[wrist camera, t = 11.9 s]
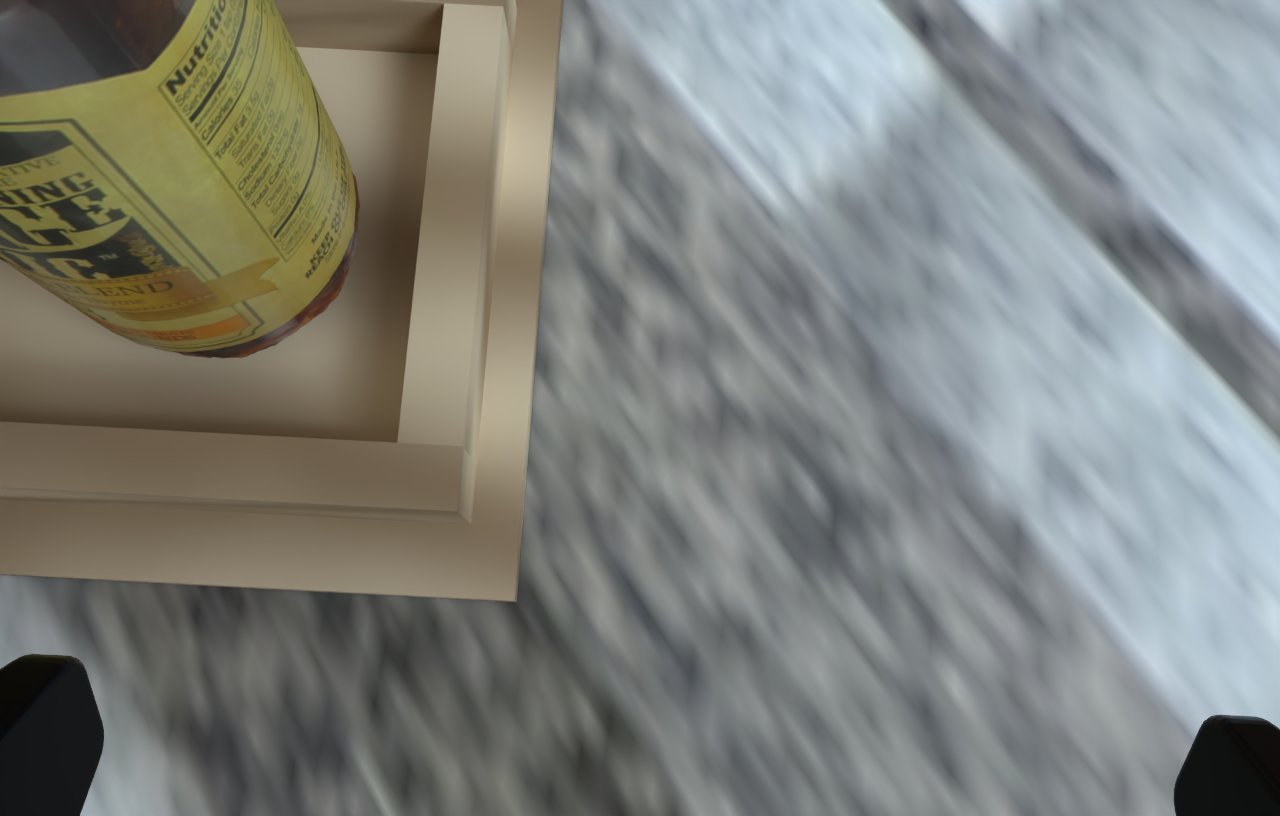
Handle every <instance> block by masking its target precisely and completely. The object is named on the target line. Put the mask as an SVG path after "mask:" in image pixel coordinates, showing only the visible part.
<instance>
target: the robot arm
mask: <svg viewBox="0 0 1280 816" xmlns="http://www.w3.org/2000/svg"><path fill="white" fill-rule="evenodd" d="M103 743H104V729H103V723H102V720H101V717H100V714H99V711H98V707H97V704H96V701H95V698H94V695H93V691H92V688H91V685H90V682H89V679H88V675H87V672H86V670H85V667H84V665H83V664H82V663H81V662H80V661H79V660H78V659H77V658H75V657H72V656H60V655H40V654H30V655H25V656H22V657H19V658H18V659H16V660H14V661H12V662H11V663H9V664H8V665H6V666H4V667H3V668H1V669H0V816H80V813H81V811H82V808H83V805H84V802H85V800H86V797H87V794H88V791H89V788H90V786H91V783H92V780H93V777H94V774H95V772H96V769H97V766H98V763H99V761H100V757H101V754H102V749H103ZM1174 806H1175V812H1176V816H1280V729H1279V728H1278V727H1276V726H1275V725H1273V724H1272V723H1270V722H1269V721H1267V720H1265V719H1262V718H1259V717H1251V716H1231V715H1214V716H1211V717H1209V718H1208V719H1207V720H1205V721H1204V722H1203V724H1202V725H1201V727H1200V729H1199V731H1198V734H1197V736H1196V738H1195V740H1194V742H1193V744H1192V747H1191V749H1190V751H1189V753H1188V755H1187V758H1186V760H1185V762H1184V764H1183V766H1182V768H1181V771H1180V773H1179V775H1178V777H1177V780H1176V783H1175V788H1174Z"/></svg>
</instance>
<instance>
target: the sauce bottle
mask: <svg viewBox="0 0 1280 816" xmlns="http://www.w3.org/2000/svg"><path fill="white" fill-rule="evenodd" d="M359 209H360V202H359V196H358V188H357V181H356V177H355V176H354V174H353V172H352V170H351V166H350V163H349V160H348V157H347V154H346V151H345V149H344V147H343V144H342V142H341V140H340V138H339V136H338V134H337V132H336V130H335V128H334V126H333V124H332V122H331V119H330V117H329V115H328V113H327V111H326V109H325V107H324V105H323V103H322V101H321V98H320V96H319V94H318V92H317V90H316V88H315V86H314V84H313V82H312V80H311V77H310V75H309V73H308V71H307V69H306V67H305V65H304V63H303V61H302V59H301V57H300V55H299V53H298V51H297V49H296V47H295V45H294V43H293V41H292V38H291V36H290V34H289V32H288V30H287V28H286V26H285V24H284V22H283V20H282V18H281V16H280V14H279V12H278V10H277V8H276V6H275V4H274V1H273V0H0V260H2V261H4V262H5V263H7V264H8V265H10V266H11V267H13V268H14V269H16V270H17V271H19V272H20V273H22V274H23V275H25V276H26V277H28V278H29V279H31V280H32V281H34V282H35V283H37V284H38V285H40V286H41V287H43V288H44V289H46V290H47V291H49V292H51V293H52V294H54V295H55V296H57V297H58V298H60V299H62V300H63V301H65V302H66V303H68V304H69V305H71V306H73V307H74V308H76V309H77V310H78V311H80V312H82V313H83V314H85V315H86V316H88V317H89V318H91V319H92V320H94V321H95V322H97V323H98V324H100V325H102V326H103V327H105V328H106V329H108V330H110V331H111V332H113V333H115V334H117V335H119V336H122V337H124V338H126V339H128V340H130V341H133V342H135V343H137V344H140V345H144V346H149V347H153V348H155V349H161V350H164V351H172V352H176V353H180V354H182V355H184V356H195V357H206V358H212V357H217V358H243V357H247V356H249V355H250V354H254V353H256V352H258V351H260V350H264V349H267V348H269V347H271V346H275V345H277V344H278V343H279V342H280V341H282V340H284V339H285V338H286V337H289V336H290V335H292V334H294V333H295V332H297V331H298V330H299V329H300V328H301V327H303V326H304V325H306V324H307V323H308V322H310V321H311V320H312V319H313V318H315V317H316V316H318V315H319V314H321V313H322V312H324V311H325V310H326V308H327V307H328V306H329V304H330V303H331V302H332V301H333V300H334V299H335V298H336V297H337V296H338V294H339V293H340V291H341V289H342V287H343V284H344V281H345V278H346V276H347V274H348V271H349V267H350V265H351V264H352V262H353V255H354V252H355V249H356V245H357V237H358V212H359Z"/></svg>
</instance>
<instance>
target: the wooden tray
mask: <svg viewBox="0 0 1280 816" xmlns="http://www.w3.org/2000/svg"><path fill="white" fill-rule="evenodd" d="M273 1H274V4H275V6H276V8H277V10H278V12H279V14H280V16H281V18H282V20H283V22H284V24H285V26H286V28H287V30H288V32H289V34H290V36H291V38H292V41H293V43H294V45H295V47H296V49H297V51H298V53H299V55H300V57H301V59H302V61H303V63H304V65H305V67H306V69H307V71H308V73H309V75H310V77H311V80H312V82H313V84H314V86H315V88H316V90H317V92H318V94H319V96H320V98H321V101H322V103H323V105H324V107H325V109H326V111H327V113H328V115H329V117H330V119H331V122H332V124H333V126H334V128H335V130H336V132H337V134H338V136H339V138H340V140H341V142H342V144H343V147H344V149H345V151H346V154H347V157H348V160H349V163H350V166H351V170H352V172H353V174H354V176H355V177H356V181H357V188H358V196H359V202H360V209H359V212H358V237H357V245H356V249H355V252H354V255H353V262H352V264H351V265H350V267H349V271H348V274H347V276H346V278H345V281H344V284H343V287H342V289H341V291H340V293H339V294H338V296H337V297H336V298H335V299H334V300H333V301H332V302H331V303H330V304H329V306H328V307H327V308H326V310H325V311H324V312H322V313H321V314H319V315H318V316H316V317H315V318H313V319H312V320H311V321H310V322H308V323H307V324H306V325H304V326H303V327H301V328H300V329H299V330H298V331H297V332H295V333H294V334H292V335H290V336H289V337H286V338H285V339H284V340H282V341H280V342H279V343H278V344H277V345H275V346H271V347H269V348H267V349H264V350H260V351H258V352H256V353H254V354H250V355H249V356H247V357H243V358H217V357H212V358H206V357H195V356H184V355H182V354H180V353H176V352H172V351H164V350H161V349H155V348H153V347H149V346H144V345H140V344H137V343H135V342H133V341H130V340H128V339H126V338H124V337H122V336H119V335H117V334H115V333H113V332H111V331H110V330H108V329H106V328H105V327H103V326H102V325H100V324H98V323H97V322H95V321H94V320H92V319H91V318H89V317H88V316H86V315H85V314H83V313H82V312H80V311H78V310H77V309H76V308H74V307H73V306H71V305H69V304H68V303H66V302H65V301H63V300H62V299H60V298H58V297H57V296H55V295H54V294H52V293H51V292H49V291H47V290H46V289H44V288H43V287H41V286H40V285H38V284H37V283H35V282H34V281H32V280H31V279H29V278H28V277H26V276H25V275H23V274H22V273H20V272H19V271H17V270H16V269H14V268H13V267H11V266H10V265H8V264H7V263H5V262H4V261H2V260H0V575H12V576H31V577H50V578H69V579H88V580H106V581H125V582H144V583H163V584H182V585H201V586H219V587H238V588H257V589H276V590H295V591H314V592H332V593H351V594H370V595H389V596H408V597H427V598H445V599H464V600H483V601H502V602H517V592H518V579H519V566H520V553H521V540H522V527H523V514H524V501H525V488H526V475H527V462H528V450H529V437H530V424H531V411H532V398H533V385H534V372H535V359H536V346H537V333H538V320H539V307H540V294H541V281H542V269H543V256H544V243H545V230H546V217H547V204H548V191H549V178H550V165H551V152H552V139H553V126H554V113H555V101H556V88H557V75H558V62H559V49H560V36H561V23H562V10H563V0H273Z"/></svg>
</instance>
